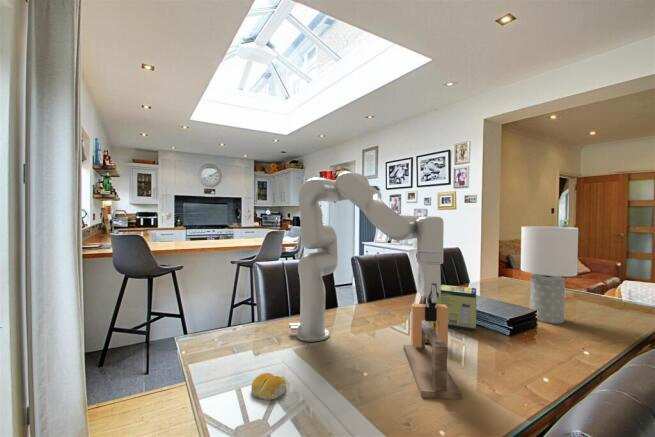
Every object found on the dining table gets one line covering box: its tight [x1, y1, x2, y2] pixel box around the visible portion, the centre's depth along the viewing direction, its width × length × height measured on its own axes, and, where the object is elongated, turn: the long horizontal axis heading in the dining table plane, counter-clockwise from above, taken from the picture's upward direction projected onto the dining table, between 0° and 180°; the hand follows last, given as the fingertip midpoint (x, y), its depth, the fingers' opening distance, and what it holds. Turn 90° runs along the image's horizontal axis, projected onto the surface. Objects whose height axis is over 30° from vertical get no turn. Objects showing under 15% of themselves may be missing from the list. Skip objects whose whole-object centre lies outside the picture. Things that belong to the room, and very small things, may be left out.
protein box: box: [437, 284, 477, 333], centre depth 130 cm, size 10×16×16 cm
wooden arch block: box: [410, 303, 449, 349], centre depth 92 cm, size 10×3×12 cm, turn 85°
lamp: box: [520, 225, 579, 325], centre depth 138 cm, size 21×21×42 cm
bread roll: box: [251, 372, 287, 401], centre depth 81 cm, size 8×9×4 cm
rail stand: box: [403, 320, 462, 400], centre depth 92 cm, size 10×28×13 cm, turn 175°
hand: (429, 318), depth 92 cm, fingers closed on wooden arch block, 3 cm apart
